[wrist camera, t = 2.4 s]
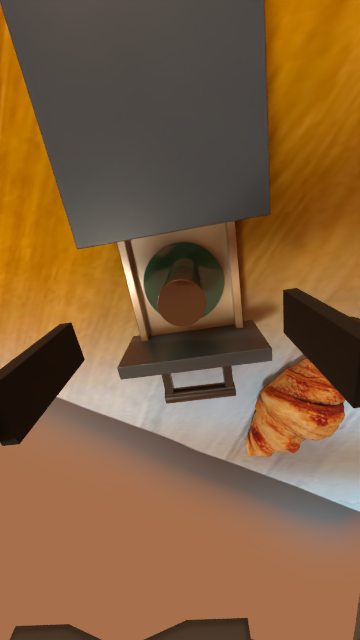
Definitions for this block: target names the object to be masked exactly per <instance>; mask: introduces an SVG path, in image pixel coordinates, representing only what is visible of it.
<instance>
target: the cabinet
mask: <svg viewBox="0 0 360 640" xmlns="http://www.w3.org/2000/svg"><path fill="white" fill-rule="evenodd" d="M0 3H1V6H2V10H3V13H4V16H5V19H6V22H7V26H8V29H9V32H10V35H11V38H12V42H13V45H14V48H15V51H16V54H17V58H18V61H19V64H20V67H21V70H22V74H23V77H24V80H25V83H26V86H27V90H28V93H29V96H30V99H31V102H32V106H33V109H34V112H35V115H36V118H37V122H38V125H39V128H40V131H41V134H42V138H43V141H44V144H45V147H46V150H47V154H48V157H49V160H50V163H51V166H52V170H53V173H54V176H55V179H56V182H57V186H58V189H59V192H60V195H61V198H62V202H63V205H64V208H65V211H66V214H67V218H68V221H69V224H70V227H71V230H72V234H73V237H74V240H75V243H76V246H77V249H82V248H88V247H93V246H99V245H104V244H110V243H115V242H121V241H127V240H132V239H138V238H143V237H149V236H154V235H160V234H165V233H171V232H176V231H182V230H187V229H193V228H198V227H204V226H210V225H215V224H221V223H226V222H232V221H237V220H243V219H248V218H254V217H259V216H265V215H270V182H269V147H268V111H267V76H266V41H265V6H264V0H0Z"/></svg>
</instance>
